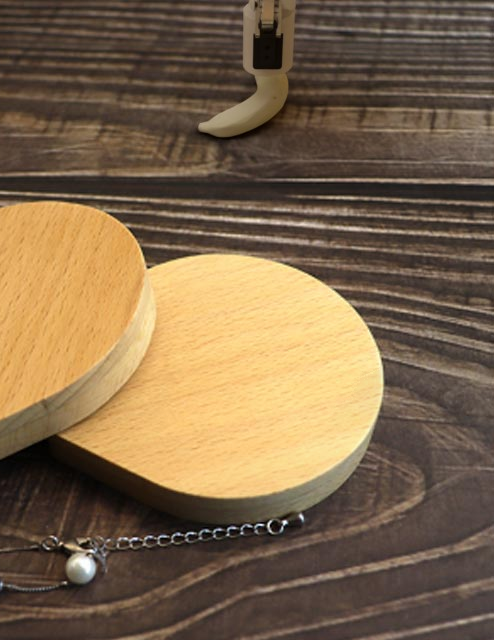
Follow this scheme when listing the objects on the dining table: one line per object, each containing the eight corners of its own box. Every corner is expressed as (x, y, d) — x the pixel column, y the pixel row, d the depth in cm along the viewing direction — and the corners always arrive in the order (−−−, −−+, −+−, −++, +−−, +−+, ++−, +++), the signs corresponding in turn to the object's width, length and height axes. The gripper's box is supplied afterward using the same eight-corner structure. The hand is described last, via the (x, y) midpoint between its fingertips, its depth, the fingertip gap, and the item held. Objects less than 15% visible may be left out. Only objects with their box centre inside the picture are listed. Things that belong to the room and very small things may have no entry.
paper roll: (269, 47, 118) (270, -9, 113) (303, 64, 115) (306, 8, 110) (232, 64, 116) (232, 8, 111) (266, 82, 113) (267, 26, 108)
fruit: (309, 85, 123) (311, 60, 120) (251, 148, 114) (252, 122, 112) (256, 73, 126) (257, 48, 123) (196, 133, 117) (195, 108, 115)
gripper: (310, -79, 95) (300, 94, 108) (312, -146, 107) (303, 17, 120) (229, -77, 96) (229, 93, 109) (240, -144, 108) (239, 17, 121)
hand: (268, 52), depth 114 cm, fingers closed on paper roll, 5 cm apart
